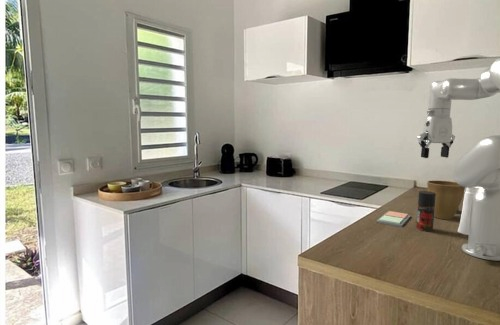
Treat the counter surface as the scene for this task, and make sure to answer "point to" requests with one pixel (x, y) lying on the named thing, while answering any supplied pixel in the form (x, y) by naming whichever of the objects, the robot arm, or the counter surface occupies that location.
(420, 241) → the counter surface
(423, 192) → the deodorant
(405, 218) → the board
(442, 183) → the plant pot
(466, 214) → the cosmetic bottle
